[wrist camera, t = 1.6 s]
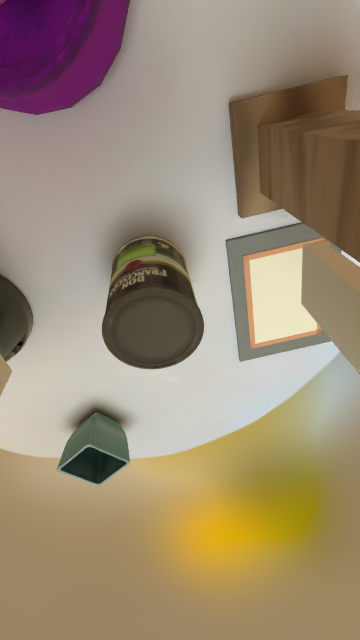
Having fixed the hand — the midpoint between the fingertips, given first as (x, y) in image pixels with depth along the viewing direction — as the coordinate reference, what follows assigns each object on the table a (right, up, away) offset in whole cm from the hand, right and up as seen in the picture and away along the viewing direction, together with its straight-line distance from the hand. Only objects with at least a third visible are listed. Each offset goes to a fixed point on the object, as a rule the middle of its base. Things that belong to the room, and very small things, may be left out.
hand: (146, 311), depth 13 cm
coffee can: (-3, +6, +31) cm, 31 cm away
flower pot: (-14, -20, +47) cm, 53 cm away
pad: (+17, +3, +35) cm, 39 cm away
